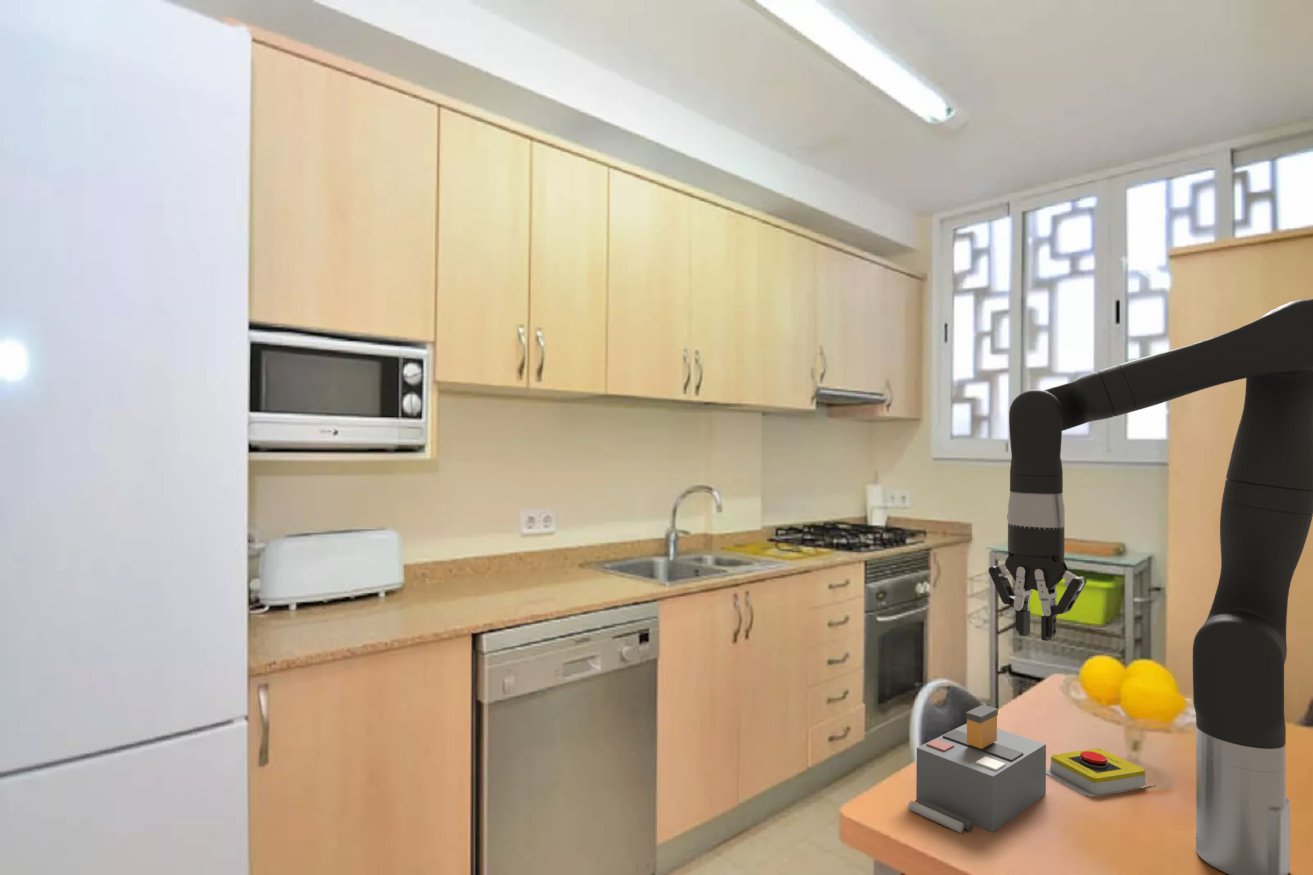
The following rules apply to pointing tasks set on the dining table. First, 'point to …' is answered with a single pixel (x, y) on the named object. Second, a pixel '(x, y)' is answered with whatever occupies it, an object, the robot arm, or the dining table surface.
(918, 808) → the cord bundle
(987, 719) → the breaker handle
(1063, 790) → the dining table surface
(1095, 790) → the emergency button
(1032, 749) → the breaker box
